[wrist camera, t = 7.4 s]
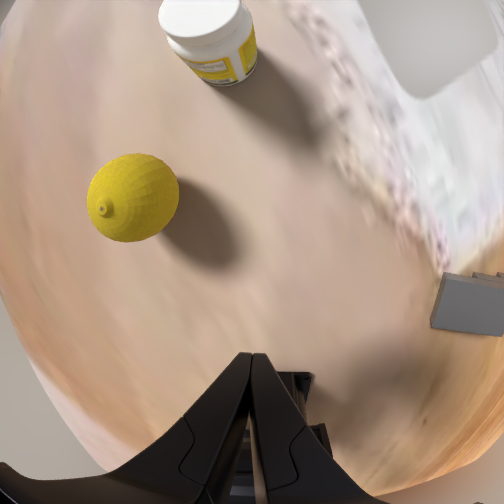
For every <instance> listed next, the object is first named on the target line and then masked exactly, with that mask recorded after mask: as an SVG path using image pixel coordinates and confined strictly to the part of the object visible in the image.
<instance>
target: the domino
mask: <svg viewBox="0 0 504 504" xmlns="http://www.w3.org/2000/svg"><path fill="white" fill-rule="evenodd" d="M430 322H431V327H433V328H440V329H446V330H453V331H460V332H467V333H474V334H482V335H490V336H498V337H502V335H503V333H504V283H499V282H494V281H489V280H483V279H478V278H473V277H467V276H462V275H457V274H451V273H446V272H444V273H443V276H442V280H441V284H440V288H439V291H438V295H437V298H436V301H435V305H434V308H433V311H432V314H431V317H430Z"/></svg>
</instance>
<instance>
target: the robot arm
mask: <svg viewBox="0 0 504 504" xmlns="http://www.w3.org/2000/svg"><path fill="white" fill-rule="evenodd" d="M305 377H306V378H305ZM310 382H311V374H310V373H308V372H276V370H275V369H274V367H273V365H272V363H271V362H270V360H269V358H268V356H267V355H266V354H265V353H254V354H253V355H252V353H247V352H240V353H239V354H238V355H237V356H236V357H235V358H234V359H233V360H232V362H231V363H230V364H229V365H228V366H227V367H226V368H225V370H224V371H223V372H222V373H221V374H220V375H219V376H218V378H217V379H216V380H215V381H214V382H213V383H212V384H211V385H210V387H209V388H208V389H207V390H206V391H205V392H204V393H203V394H202V395H201V396H200V398H199V399H198V400H197V401H196V402H195V403H194V404H193V405H192V406H191V407H190V408H189V409H188V410H187V412H186V413H185V414H184V415H183V417H181V418H180V419H179V420H178V421H177V422H176V423H175V424H174V425H173V426H172V427H171V428H170V429H169V430H168V431H167V432H166V433H165V434H164V435H162V436H161V437H160V438H159V439H157V440H156V441H155V442H154V443H152V444H151V445H150V446H149V447H147V448H146V449H144V450H143V451H142V452H140V453H139V454H138V455H136V456H135V457H133V458H132V459H131V460H129V461H128V462H126V463H125V464H123V465H122V466H120V467H119V468H117V469H115V470H113V471H111V472H109V473H106V474H103V475H99V476H92V477H84V478H75V479H62V480H35V479H30V478H27V477H24V476H22V475H20V474H19V473H18V472H16V471H15V470H14V469H12V468H11V467H10V466H9V465H7V464H6V463H4V462H0V504H390V503H387V502H384V501H381V500H379V499H377V498H374V497H373V496H371V495H369V494H368V493H366V492H365V491H364V490H362V489H361V488H360V487H359V486H358V485H357V484H356V483H355V482H354V481H353V480H352V479H351V478H350V476H349V475H348V474H347V473H346V472H345V471H344V470H343V469H342V468H341V467H340V466H339V465H338V464H337V462H336V461H335V460H334V459H333V455H332V450H331V446H330V442H329V438H328V434H327V430H326V427H325V423H323V424H318V425H313V426H309V425H307V419H306V409H305V404H306V400H307V395H308V391H309V387H310ZM474 504H483V503H480V502H476V503H474Z"/></svg>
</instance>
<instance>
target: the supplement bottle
mask: <svg viewBox="0 0 504 504" xmlns="http://www.w3.org/2000/svg"><path fill="white" fill-rule="evenodd" d="M159 23H160V25H161V27H162V29H163V30H164V31H165V32H166V34H167V39H168V43H169V45H170V47H171V48H172V50H173V51H174V52H175V53H176V54H177V55H178V56H179V57H180V58H181V59H182V60H183V61H184V62H185V63H186V64H187V65H188V66H189V67H190V68H191V69H192V70H193V71H194V72H195V73H196V74H197V75H198V77H199V78H201V79H202V80H203V81H205V82H206V83H208V84H211V85H215V86H230V85H234V84H237V83H239V82H241V81H243V80H244V79H246V78H247V77H248V76H249V75H250V74H251V73H252V72H253V70H254V69H255V67H256V64H257V60H258V53H257V46H256V39H255V32H254V26H253V20H252V16H251V13H250V12H249V10H248V8H247V7H246V6H245V5H244V4H243V3H242V2H241V0H165V1H164V2H163V4H162V5H161V8H160V10H159Z"/></svg>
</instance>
